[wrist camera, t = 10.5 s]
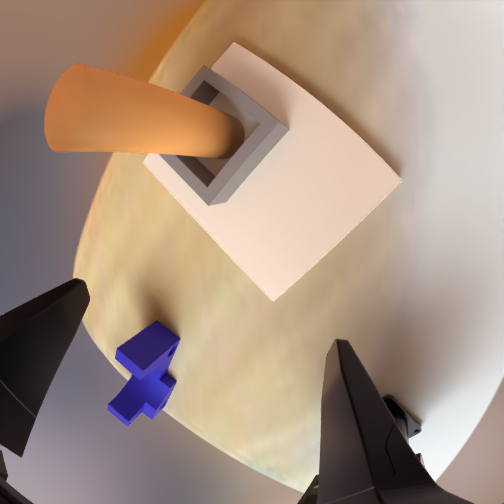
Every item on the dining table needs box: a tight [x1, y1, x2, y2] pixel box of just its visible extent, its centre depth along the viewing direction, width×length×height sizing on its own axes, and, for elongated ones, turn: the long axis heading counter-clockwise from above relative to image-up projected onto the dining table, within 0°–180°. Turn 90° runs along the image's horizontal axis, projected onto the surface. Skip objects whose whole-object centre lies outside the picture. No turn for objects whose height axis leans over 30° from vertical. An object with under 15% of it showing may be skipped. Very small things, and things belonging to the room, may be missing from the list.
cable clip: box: [108, 321, 180, 426], centre depth 26 cm, size 12×4×6 cm, turn 154°
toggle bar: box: [44, 64, 245, 159], centre depth 13 cm, size 3×3×12 cm
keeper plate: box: [143, 42, 402, 301], centre depth 17 cm, size 15×12×4 cm
